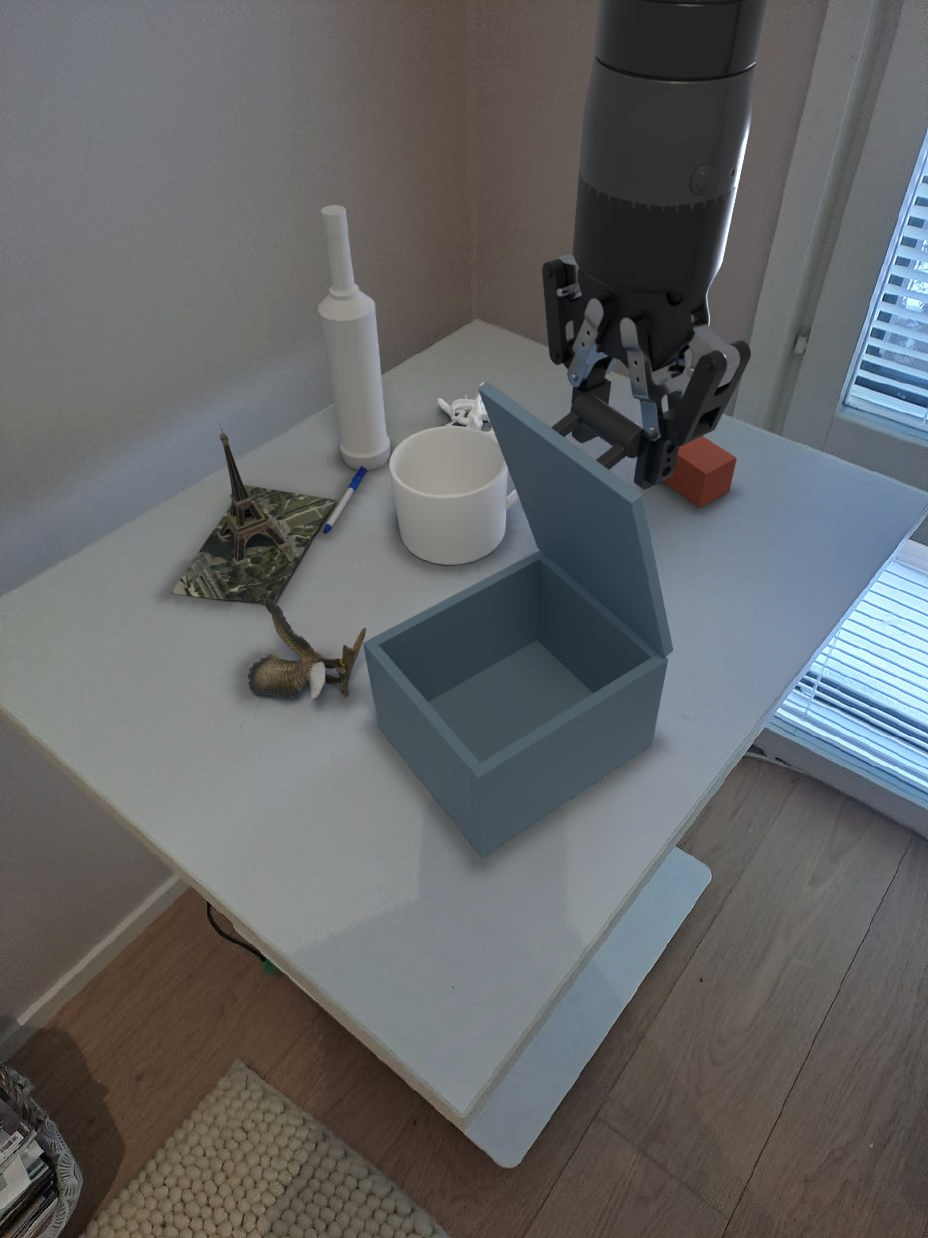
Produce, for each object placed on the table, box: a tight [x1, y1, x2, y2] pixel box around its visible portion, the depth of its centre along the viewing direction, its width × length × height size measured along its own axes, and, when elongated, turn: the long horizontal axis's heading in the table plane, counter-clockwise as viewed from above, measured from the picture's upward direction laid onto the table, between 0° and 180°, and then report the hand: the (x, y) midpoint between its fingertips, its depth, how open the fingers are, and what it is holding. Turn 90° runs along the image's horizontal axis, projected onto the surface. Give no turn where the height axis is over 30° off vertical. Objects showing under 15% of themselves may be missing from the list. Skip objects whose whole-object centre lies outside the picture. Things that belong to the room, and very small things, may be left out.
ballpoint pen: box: [322, 466, 368, 534], centre depth 88 cm, size 10×1×1 cm, turn 164°
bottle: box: [317, 204, 391, 472], centre depth 83 cm, size 5×5×25 cm
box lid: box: [477, 381, 674, 657], centre depth 57 cm, size 16×14×5 cm
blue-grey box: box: [362, 549, 669, 858], centre depth 64 cm, size 16×14×10 cm
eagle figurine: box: [247, 597, 367, 700], centre depth 70 cm, size 8×7×9 cm
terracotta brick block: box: [661, 435, 738, 508], centre depth 86 cm, size 6×4×4 cm, turn 35°
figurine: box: [436, 381, 496, 438], centre depth 94 cm, size 3×8×8 cm
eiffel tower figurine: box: [171, 423, 337, 604], centre depth 79 cm, size 15×10×13 cm
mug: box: [388, 425, 520, 566], centre depth 81 cm, size 13×10×8 cm
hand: (618, 457), depth 55 cm, fingers closed on box lid, 5 cm apart
